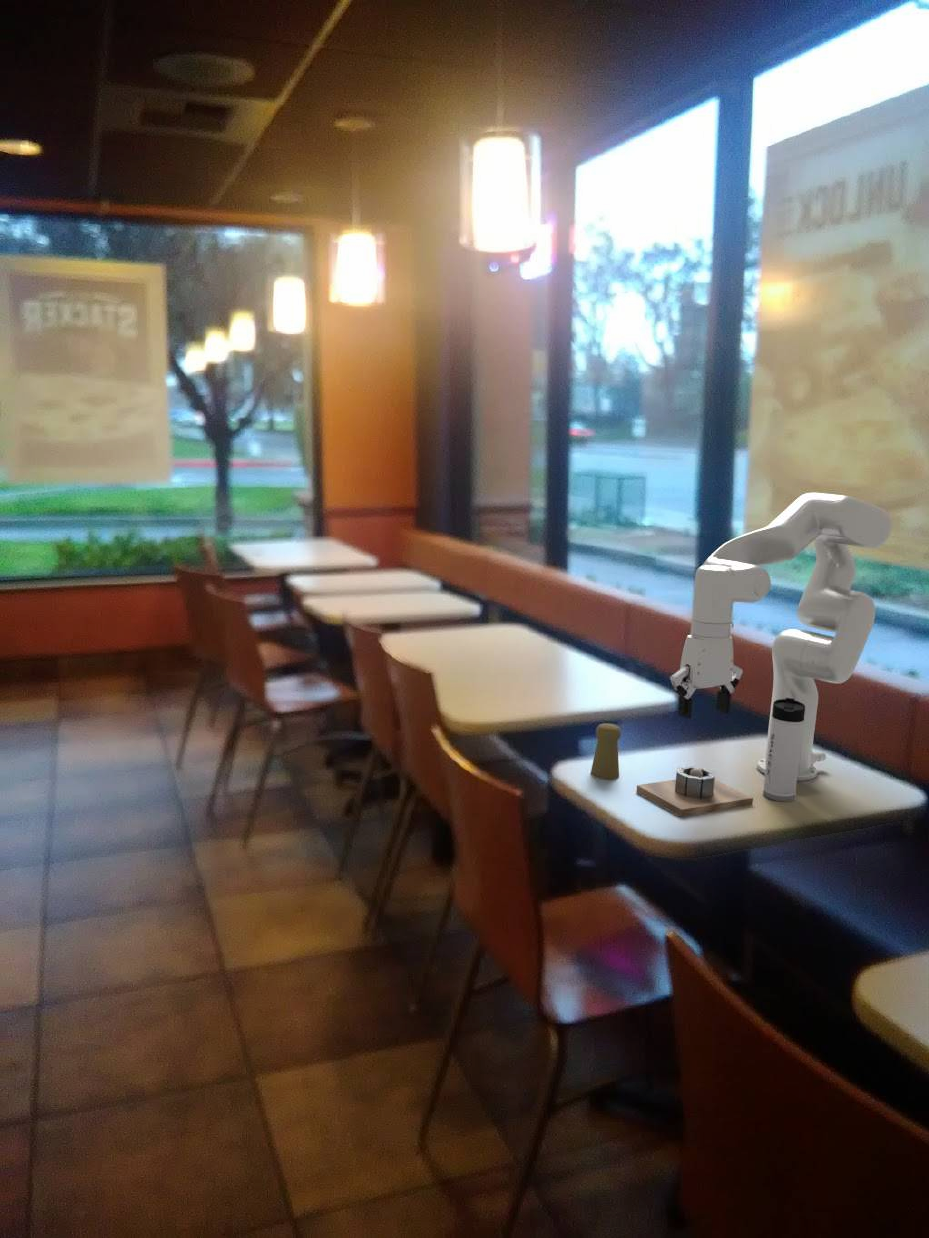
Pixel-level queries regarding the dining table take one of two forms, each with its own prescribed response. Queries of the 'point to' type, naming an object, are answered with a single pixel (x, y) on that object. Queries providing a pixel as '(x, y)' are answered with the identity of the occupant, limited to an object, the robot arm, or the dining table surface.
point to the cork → (606, 752)
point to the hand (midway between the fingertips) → (703, 713)
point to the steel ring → (694, 783)
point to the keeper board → (688, 806)
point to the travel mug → (784, 750)
